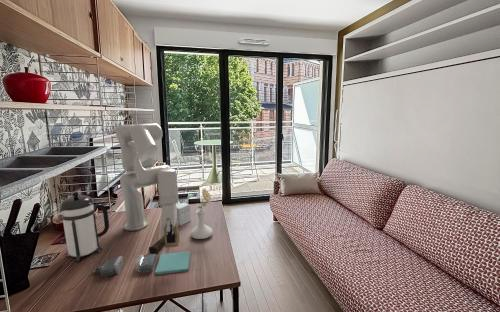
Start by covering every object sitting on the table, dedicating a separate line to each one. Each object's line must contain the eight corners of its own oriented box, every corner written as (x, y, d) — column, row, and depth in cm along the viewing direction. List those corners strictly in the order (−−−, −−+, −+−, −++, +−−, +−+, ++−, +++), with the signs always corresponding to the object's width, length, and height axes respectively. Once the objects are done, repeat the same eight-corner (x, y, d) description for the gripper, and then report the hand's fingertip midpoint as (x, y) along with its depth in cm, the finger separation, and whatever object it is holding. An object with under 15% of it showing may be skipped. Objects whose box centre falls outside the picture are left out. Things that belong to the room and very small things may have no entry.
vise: (99, 265, 109) (98, 257, 108) (156, 259, 113) (155, 251, 112) (91, 277, 101) (90, 268, 100) (152, 271, 105) (151, 262, 104)
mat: (161, 256, 115) (160, 254, 115) (190, 253, 117) (190, 251, 117) (155, 274, 103) (155, 272, 102) (188, 270, 105) (188, 268, 105)
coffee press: (97, 260, 113) (88, 196, 107) (57, 264, 110) (46, 199, 105) (111, 240, 130) (104, 184, 124) (77, 243, 127) (68, 186, 121)
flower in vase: (203, 243, 126) (200, 195, 121) (186, 237, 131) (183, 192, 127) (218, 232, 137) (217, 187, 132) (202, 227, 143) (200, 184, 138)
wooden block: (167, 241, 110) (165, 222, 109) (179, 240, 111) (177, 221, 109) (165, 247, 105) (163, 227, 104) (177, 246, 106) (176, 226, 104)
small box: (185, 218, 155) (183, 202, 153) (191, 220, 151) (190, 204, 149) (174, 223, 148) (172, 206, 146) (180, 225, 145) (179, 208, 143)
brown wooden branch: (156, 255, 116) (155, 246, 116) (148, 254, 117) (148, 245, 117) (178, 235, 134) (177, 227, 134) (171, 234, 135) (170, 226, 135)
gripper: (162, 192, 112) (166, 230, 115) (155, 206, 96) (159, 250, 99) (180, 191, 113) (183, 229, 117) (175, 205, 97) (179, 248, 100)
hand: (172, 238), depth 108 cm, fingers closed on wooden block, 5 cm apart
